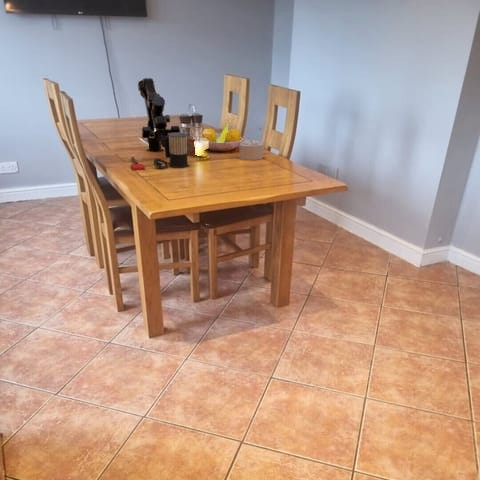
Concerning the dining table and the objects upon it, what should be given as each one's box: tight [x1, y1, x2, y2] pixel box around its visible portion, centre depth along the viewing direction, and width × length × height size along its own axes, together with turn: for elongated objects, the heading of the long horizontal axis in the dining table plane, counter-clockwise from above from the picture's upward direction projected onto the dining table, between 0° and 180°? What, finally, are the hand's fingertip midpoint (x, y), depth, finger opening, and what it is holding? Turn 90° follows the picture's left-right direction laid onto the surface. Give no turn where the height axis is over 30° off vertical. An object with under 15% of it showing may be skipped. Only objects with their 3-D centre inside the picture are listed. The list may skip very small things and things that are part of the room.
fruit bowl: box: [201, 123, 245, 152], centre depth 257 cm, size 28×27×11 cm
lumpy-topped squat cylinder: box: [238, 138, 265, 161], centre depth 240 cm, size 10×13×9 cm
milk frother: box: [153, 132, 189, 169], centre depth 219 cm, size 14×16×15 cm
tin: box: [187, 137, 201, 158], centre depth 242 cm, size 15×3×8 cm, turn 47°
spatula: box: [130, 156, 146, 171], centre depth 224 cm, size 21×6×1 cm, turn 19°
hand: (163, 146), depth 227 cm, fingers closed
